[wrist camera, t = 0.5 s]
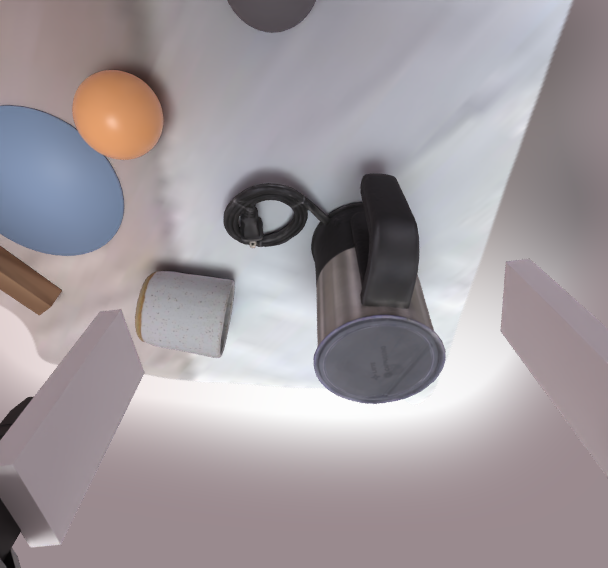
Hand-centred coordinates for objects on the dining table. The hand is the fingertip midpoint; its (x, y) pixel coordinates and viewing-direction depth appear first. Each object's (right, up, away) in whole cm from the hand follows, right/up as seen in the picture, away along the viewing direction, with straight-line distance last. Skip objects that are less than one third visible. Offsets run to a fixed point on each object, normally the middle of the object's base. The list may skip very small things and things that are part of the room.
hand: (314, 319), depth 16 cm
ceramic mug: (-11, 0, +32) cm, 34 cm away
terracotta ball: (-14, +13, +17) cm, 25 cm away
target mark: (-23, +10, +24) cm, 34 cm away
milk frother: (+1, +6, +26) cm, 27 cm away
